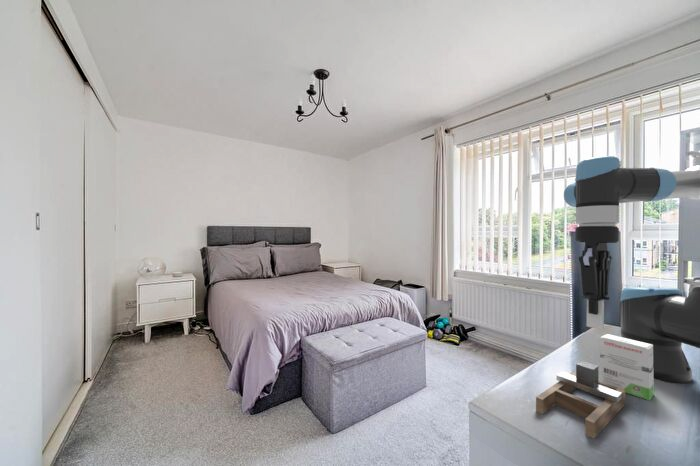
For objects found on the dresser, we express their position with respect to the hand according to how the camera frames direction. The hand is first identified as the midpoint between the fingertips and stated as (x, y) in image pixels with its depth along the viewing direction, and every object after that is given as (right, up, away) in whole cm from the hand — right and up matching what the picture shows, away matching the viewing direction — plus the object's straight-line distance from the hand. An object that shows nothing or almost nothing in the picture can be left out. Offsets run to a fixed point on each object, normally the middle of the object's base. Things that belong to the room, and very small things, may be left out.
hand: (595, 327), depth 64 cm
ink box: (+10, -16, +3) cm, 19 cm away
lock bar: (-4, -13, -3) cm, 14 cm away
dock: (-7, -16, -5) cm, 18 cm away
